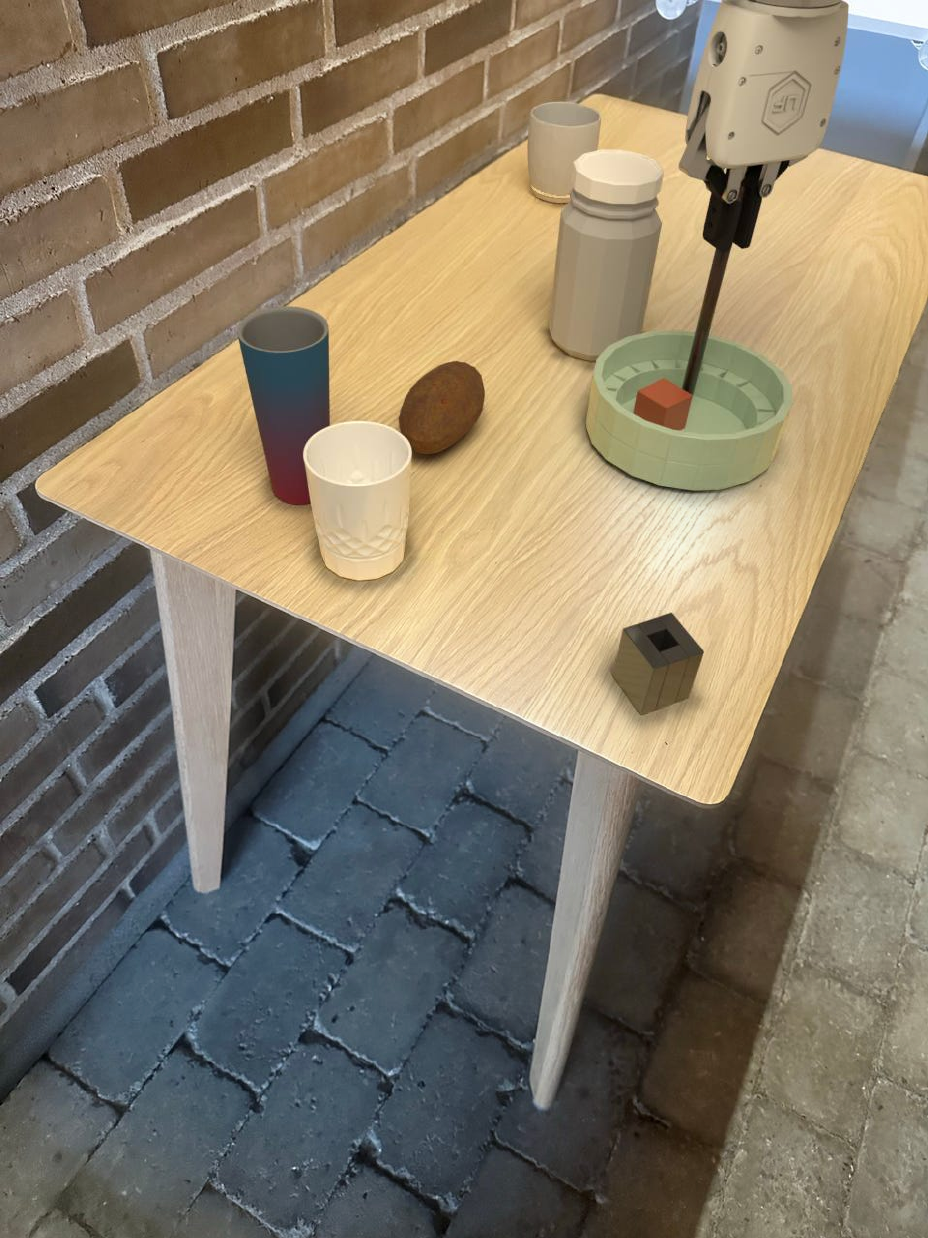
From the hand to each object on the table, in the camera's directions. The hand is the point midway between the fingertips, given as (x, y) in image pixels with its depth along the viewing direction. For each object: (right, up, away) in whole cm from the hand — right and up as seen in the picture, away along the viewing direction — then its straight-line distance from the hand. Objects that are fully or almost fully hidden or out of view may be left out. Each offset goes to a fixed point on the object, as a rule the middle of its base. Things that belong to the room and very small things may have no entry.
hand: (725, 242), depth 77 cm
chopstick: (-1, -10, +11) cm, 15 cm away
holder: (-8, -36, -10) cm, 38 cm away
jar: (-8, -1, +23) cm, 24 cm away
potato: (-24, -14, +10) cm, 29 cm away
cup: (-36, -20, +5) cm, 41 cm away
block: (-3, -13, +12) cm, 17 cm away
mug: (-8, +27, +50) cm, 58 cm away
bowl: (-1, -14, +11) cm, 18 cm away
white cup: (-30, -26, -1) cm, 39 cm away
